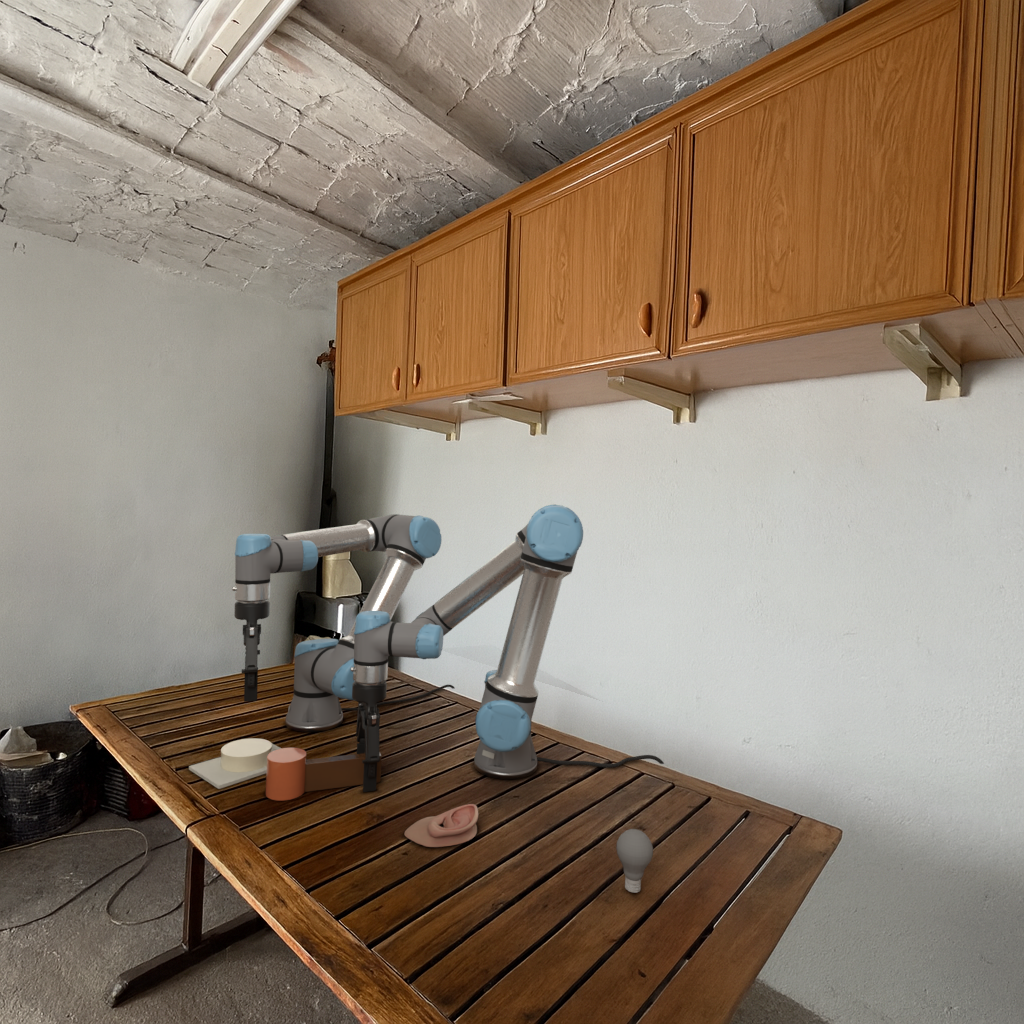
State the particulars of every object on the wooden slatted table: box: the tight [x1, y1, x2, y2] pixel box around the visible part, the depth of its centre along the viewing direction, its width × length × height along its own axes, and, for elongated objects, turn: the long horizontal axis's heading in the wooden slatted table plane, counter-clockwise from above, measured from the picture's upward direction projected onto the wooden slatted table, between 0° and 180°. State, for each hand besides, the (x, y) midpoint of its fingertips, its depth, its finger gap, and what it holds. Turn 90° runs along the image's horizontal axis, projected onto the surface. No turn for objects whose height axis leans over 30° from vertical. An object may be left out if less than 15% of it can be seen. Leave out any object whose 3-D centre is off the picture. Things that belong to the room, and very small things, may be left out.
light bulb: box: [615, 828, 654, 894], centre depth 106 cm, size 6×6×10 cm
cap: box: [220, 738, 273, 772], centre depth 147 cm, size 11×11×4 cm
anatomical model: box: [404, 803, 479, 848], centre depth 121 cm, size 13×4×12 cm
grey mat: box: [188, 743, 283, 790], centre depth 147 cm, size 20×14×1 cm
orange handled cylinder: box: [265, 747, 382, 802], centre depth 138 cm, size 24×8×8 cm, turn 112°
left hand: (250, 691), depth 147 cm, fingers open, 13 cm apart
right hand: (365, 780), depth 142 cm, fingers open, 9 cm apart
